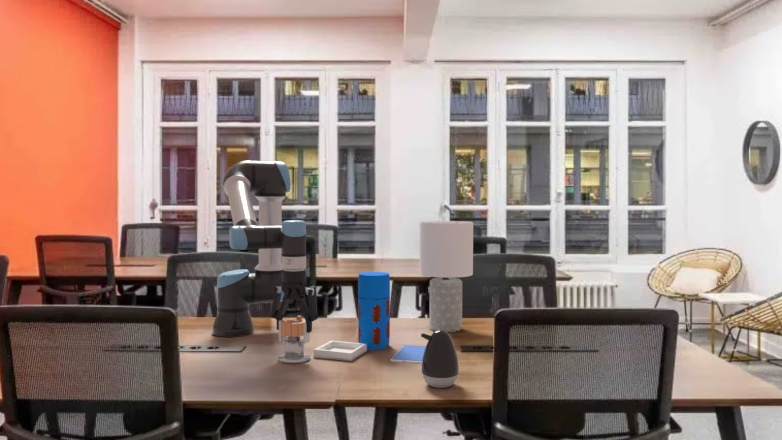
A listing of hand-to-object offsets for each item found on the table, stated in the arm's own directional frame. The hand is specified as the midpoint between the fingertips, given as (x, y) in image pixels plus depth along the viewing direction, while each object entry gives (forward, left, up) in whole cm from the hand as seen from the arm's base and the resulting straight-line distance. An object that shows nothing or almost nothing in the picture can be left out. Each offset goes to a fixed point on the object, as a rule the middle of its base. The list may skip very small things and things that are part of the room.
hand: (294, 341), depth 192 cm
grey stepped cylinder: (0, 0, -6) cm, 6 cm away
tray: (+11, +11, -6) cm, 17 cm away
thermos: (+17, +25, -6) cm, 31 cm away
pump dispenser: (+50, -9, -6) cm, 51 cm away
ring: (0, 0, +2) cm, 2 cm away
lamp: (+33, +60, -6) cm, 69 cm away
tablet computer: (+34, +19, -7) cm, 39 cm away
